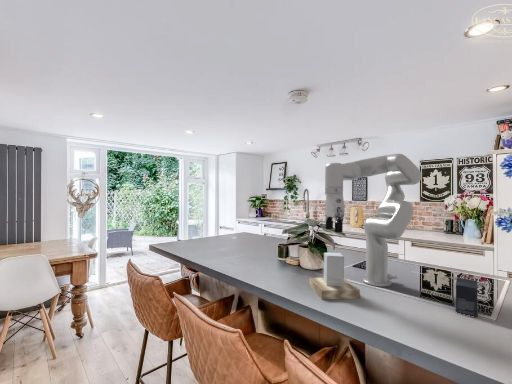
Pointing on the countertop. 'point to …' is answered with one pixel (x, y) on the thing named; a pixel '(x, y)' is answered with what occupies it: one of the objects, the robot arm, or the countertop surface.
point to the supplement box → (334, 269)
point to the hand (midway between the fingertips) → (333, 230)
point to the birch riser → (334, 289)
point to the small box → (466, 297)
